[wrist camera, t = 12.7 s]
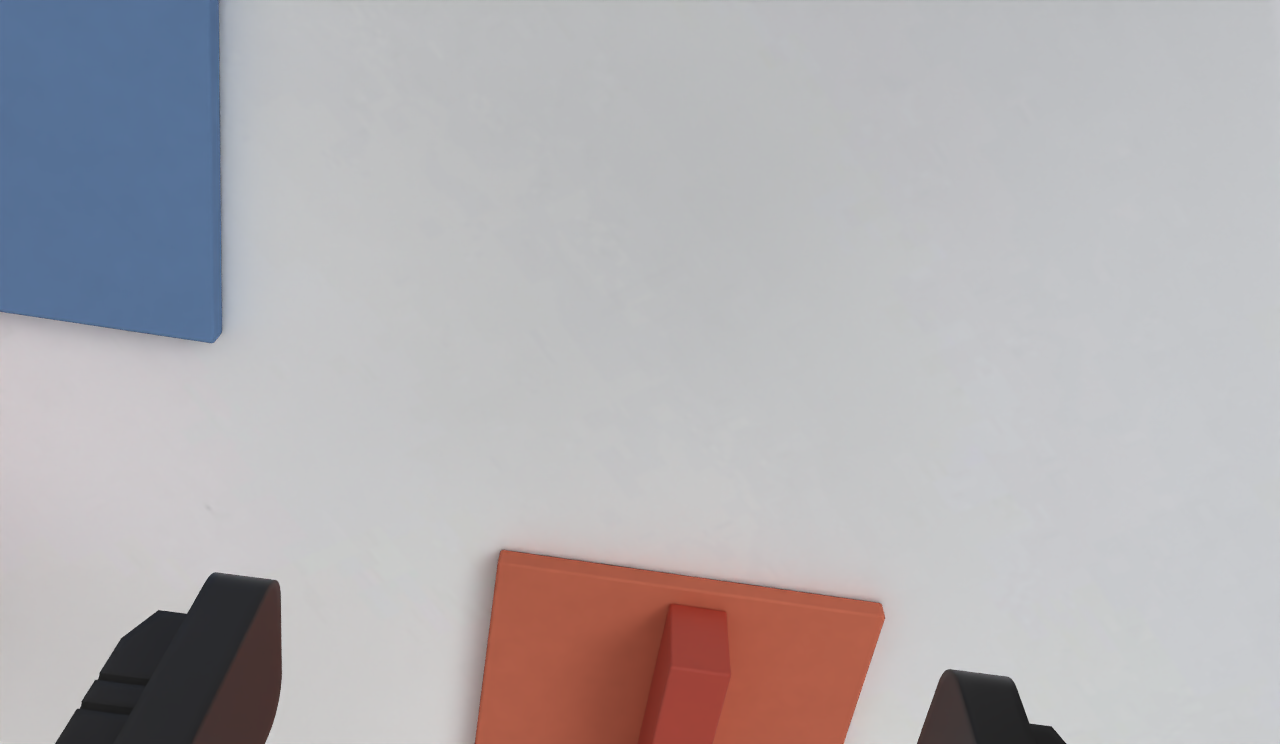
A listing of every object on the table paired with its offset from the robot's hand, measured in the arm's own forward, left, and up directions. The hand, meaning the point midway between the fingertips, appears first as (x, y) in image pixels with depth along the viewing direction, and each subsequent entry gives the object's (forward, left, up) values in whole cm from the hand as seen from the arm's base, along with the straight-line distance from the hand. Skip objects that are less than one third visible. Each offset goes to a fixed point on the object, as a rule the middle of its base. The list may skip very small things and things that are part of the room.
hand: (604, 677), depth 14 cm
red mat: (+15, +3, -13) cm, 21 cm away
